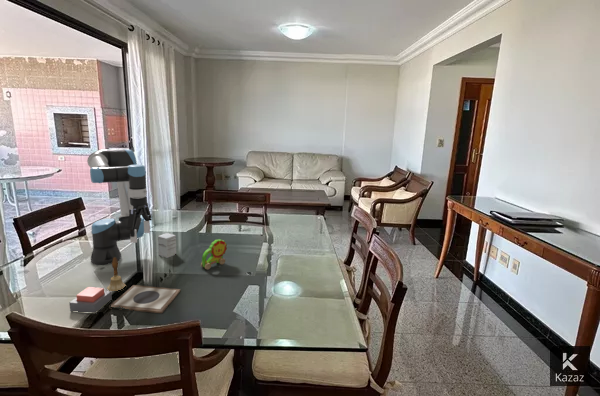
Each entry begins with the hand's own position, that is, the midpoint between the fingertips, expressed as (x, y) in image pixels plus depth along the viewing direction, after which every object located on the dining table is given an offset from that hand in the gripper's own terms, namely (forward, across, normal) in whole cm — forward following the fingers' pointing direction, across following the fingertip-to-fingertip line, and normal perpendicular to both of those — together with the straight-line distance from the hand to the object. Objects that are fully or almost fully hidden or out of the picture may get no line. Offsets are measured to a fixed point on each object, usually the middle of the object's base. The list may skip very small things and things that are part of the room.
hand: (140, 237), depth 163 cm
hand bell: (+23, -11, +8) cm, 26 cm away
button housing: (+22, -27, +10) cm, 36 cm away
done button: (+19, -27, +10) cm, 34 cm away
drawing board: (+22, -19, -11) cm, 31 cm away
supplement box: (+23, +30, -1) cm, 37 cm away
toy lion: (+23, +20, -32) cm, 44 cm away
